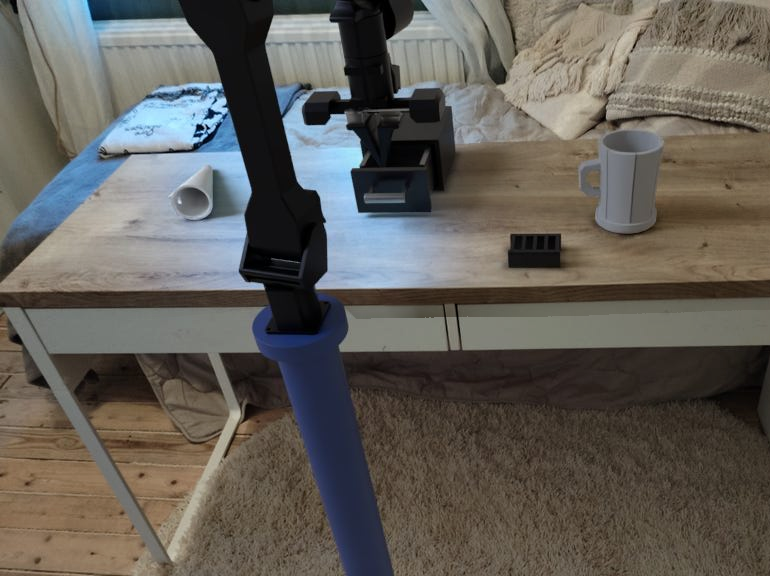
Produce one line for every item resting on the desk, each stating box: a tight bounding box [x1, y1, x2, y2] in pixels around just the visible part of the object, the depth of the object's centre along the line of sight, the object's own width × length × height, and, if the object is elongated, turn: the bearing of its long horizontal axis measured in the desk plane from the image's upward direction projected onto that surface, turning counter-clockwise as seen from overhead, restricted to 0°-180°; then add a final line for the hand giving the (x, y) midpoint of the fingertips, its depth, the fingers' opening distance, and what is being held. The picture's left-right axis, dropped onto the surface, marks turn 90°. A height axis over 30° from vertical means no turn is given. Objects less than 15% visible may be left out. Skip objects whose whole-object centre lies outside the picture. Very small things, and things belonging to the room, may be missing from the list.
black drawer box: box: [359, 105, 457, 192], centre depth 118 cm, size 15×13×9 cm
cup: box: [577, 128, 665, 235], centre depth 99 cm, size 10×9×12 cm
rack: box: [507, 232, 562, 269], centre depth 96 cm, size 7×5×2 cm
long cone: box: [168, 164, 214, 221], centre depth 119 cm, size 6×6×19 cm
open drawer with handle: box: [349, 144, 438, 214], centre depth 109 cm, size 18×11×7 cm, turn 174°
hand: (383, 166), depth 101 cm, fingers closed
